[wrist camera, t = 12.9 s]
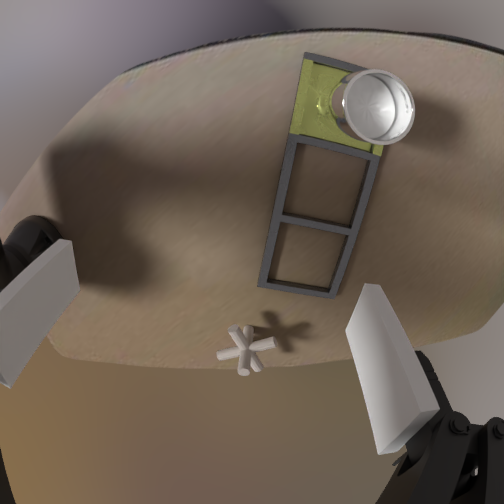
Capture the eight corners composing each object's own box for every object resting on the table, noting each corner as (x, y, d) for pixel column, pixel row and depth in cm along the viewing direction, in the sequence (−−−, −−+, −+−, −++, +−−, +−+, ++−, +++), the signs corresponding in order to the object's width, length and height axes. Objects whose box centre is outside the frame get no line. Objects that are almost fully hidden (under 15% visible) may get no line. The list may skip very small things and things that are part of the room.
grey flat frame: (257, 282, 46) (257, 287, 45) (304, 53, 31) (305, 51, 29) (333, 294, 47) (334, 299, 45) (393, 80, 31) (397, 79, 30)
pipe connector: (264, 299, 48) (261, 342, 39) (285, 340, 52) (286, 383, 43) (210, 315, 50) (198, 357, 41) (235, 353, 54) (229, 395, 45)
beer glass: (317, 133, 35) (344, 149, 22) (311, 82, 32) (335, 65, 19) (368, 131, 34) (419, 147, 21) (363, 80, 31) (413, 69, 18)
